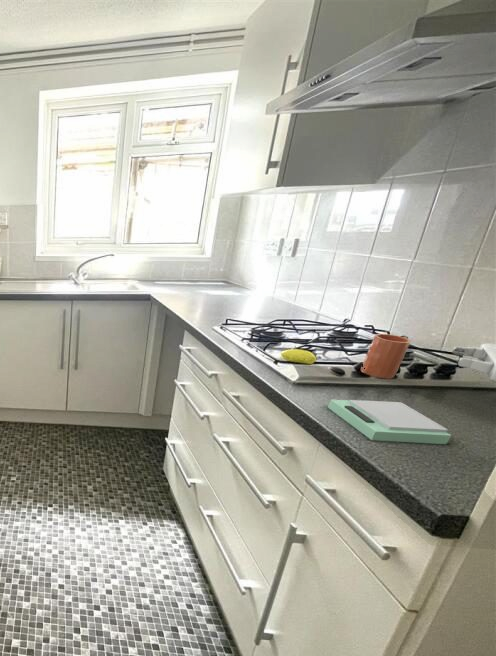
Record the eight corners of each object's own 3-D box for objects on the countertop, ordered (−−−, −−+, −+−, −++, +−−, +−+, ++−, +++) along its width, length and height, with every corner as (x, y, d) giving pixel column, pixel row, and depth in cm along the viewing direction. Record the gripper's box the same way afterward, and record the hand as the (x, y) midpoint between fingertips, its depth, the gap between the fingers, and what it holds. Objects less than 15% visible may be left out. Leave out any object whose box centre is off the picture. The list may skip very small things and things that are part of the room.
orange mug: (380, 370, 110) (396, 334, 105) (400, 380, 104) (418, 343, 100) (353, 369, 110) (368, 333, 106) (371, 379, 104) (388, 342, 100)
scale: (391, 412, 89) (397, 399, 88) (445, 446, 78) (453, 432, 76) (326, 409, 90) (331, 396, 89) (370, 442, 79) (377, 428, 78)
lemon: (314, 368, 111) (319, 354, 109) (278, 362, 115) (283, 348, 113) (313, 363, 114) (318, 349, 112) (278, 357, 118) (282, 344, 116)
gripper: (543, 344, 94) (456, 332, 102) (573, 371, 80) (469, 354, 88) (528, 370, 97) (444, 355, 105) (553, 400, 83) (455, 381, 91)
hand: (456, 355), depth 96 cm, fingers open, 8 cm apart
